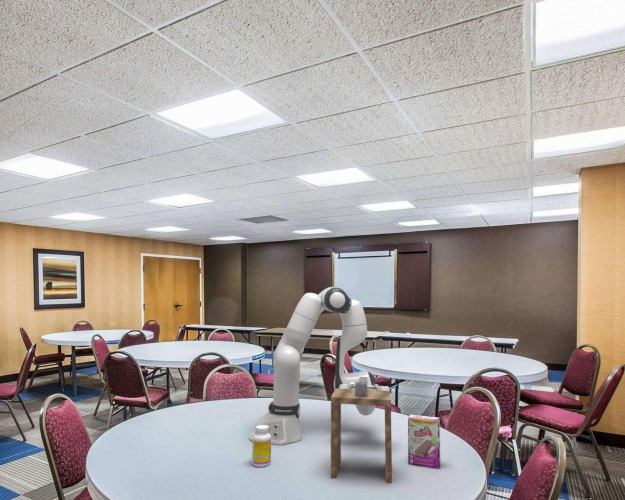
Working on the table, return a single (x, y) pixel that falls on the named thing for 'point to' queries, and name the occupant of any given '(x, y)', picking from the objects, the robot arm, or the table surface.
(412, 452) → the candy bar box
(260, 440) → the supplement bottle
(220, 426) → the table surface
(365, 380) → the bar
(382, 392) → the wooden side table
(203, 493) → the table surface
